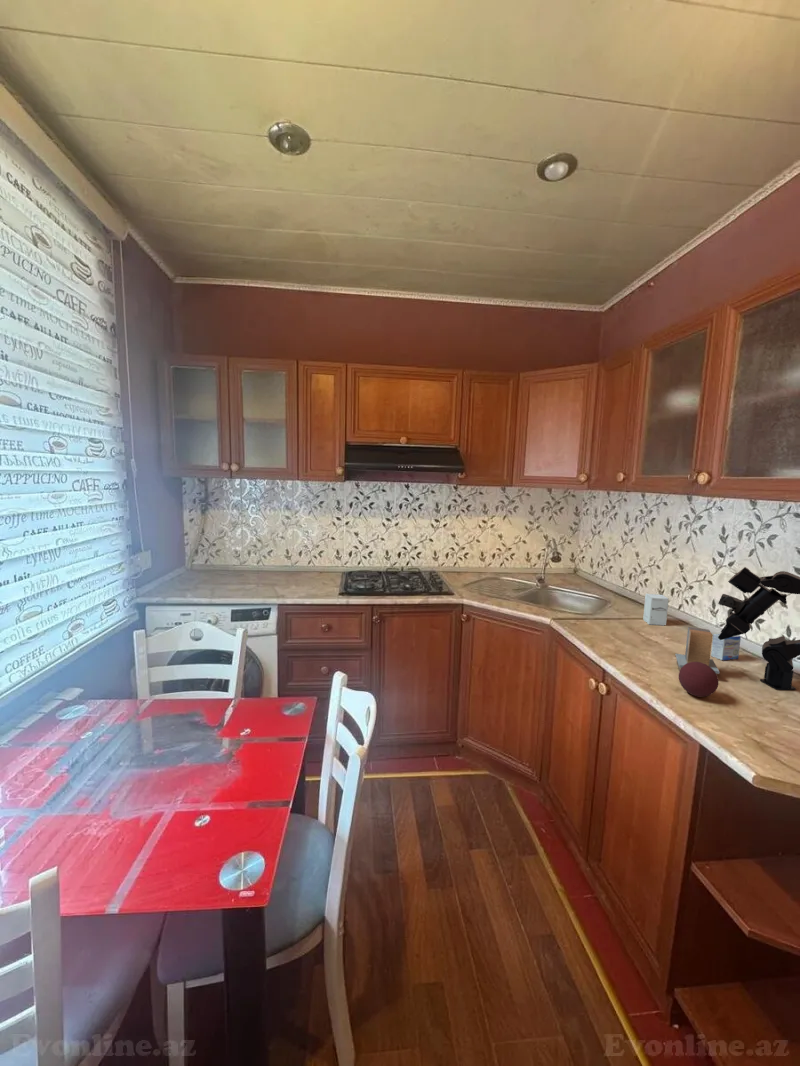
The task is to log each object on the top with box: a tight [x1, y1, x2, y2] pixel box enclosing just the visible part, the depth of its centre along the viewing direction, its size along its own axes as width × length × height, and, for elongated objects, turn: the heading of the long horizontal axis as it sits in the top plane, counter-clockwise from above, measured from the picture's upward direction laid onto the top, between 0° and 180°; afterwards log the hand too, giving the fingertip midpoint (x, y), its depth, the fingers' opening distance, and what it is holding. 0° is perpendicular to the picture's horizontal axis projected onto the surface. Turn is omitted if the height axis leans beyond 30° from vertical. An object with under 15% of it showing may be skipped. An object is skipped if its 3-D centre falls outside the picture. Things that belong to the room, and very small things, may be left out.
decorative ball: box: [678, 662, 719, 698], centre depth 134 cm, size 10×10×10 cm
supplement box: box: [642, 593, 670, 626], centre depth 201 cm, size 7×7×13 cm
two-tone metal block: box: [684, 626, 713, 666], centre depth 150 cm, size 6×6×11 cm
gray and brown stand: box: [675, 653, 720, 675], centre depth 151 cm, size 11×11×3 cm
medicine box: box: [710, 633, 741, 661], centre depth 163 cm, size 8×4×9 cm, turn 105°
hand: (720, 635), depth 150 cm, fingers open, 9 cm apart
